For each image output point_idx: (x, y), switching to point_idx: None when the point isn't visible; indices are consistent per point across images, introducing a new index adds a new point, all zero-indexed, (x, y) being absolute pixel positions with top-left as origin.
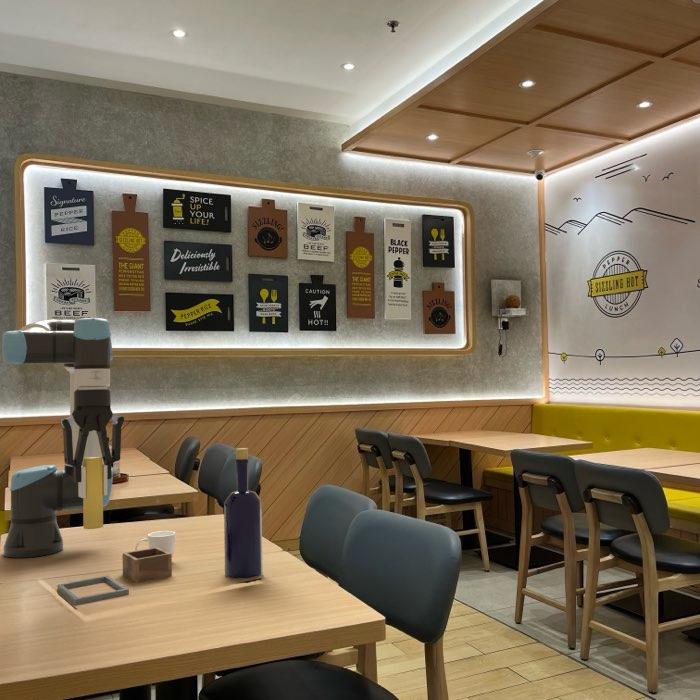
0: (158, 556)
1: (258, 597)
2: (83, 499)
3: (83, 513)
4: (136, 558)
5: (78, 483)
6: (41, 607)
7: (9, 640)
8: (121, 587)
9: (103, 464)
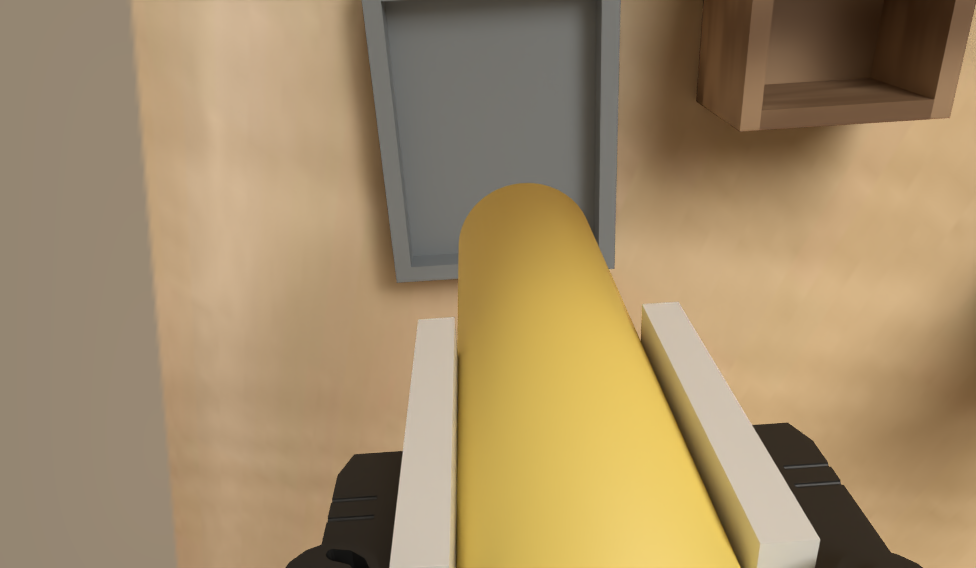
0: (871, 121)
1: (938, 483)
2: (457, 349)
3: (458, 287)
4: (759, 100)
5: (409, 400)
6: (282, 155)
7: (177, 437)
8: (598, 227)
9: (809, 561)
